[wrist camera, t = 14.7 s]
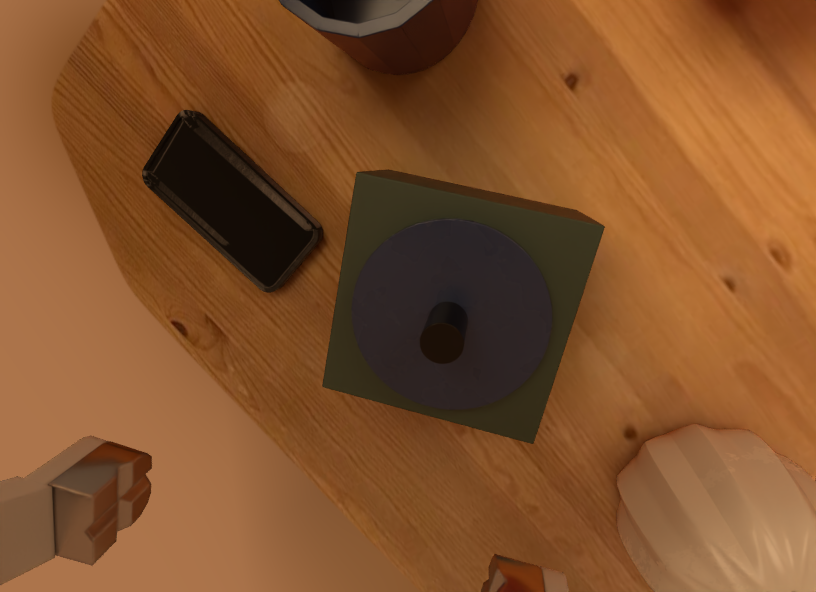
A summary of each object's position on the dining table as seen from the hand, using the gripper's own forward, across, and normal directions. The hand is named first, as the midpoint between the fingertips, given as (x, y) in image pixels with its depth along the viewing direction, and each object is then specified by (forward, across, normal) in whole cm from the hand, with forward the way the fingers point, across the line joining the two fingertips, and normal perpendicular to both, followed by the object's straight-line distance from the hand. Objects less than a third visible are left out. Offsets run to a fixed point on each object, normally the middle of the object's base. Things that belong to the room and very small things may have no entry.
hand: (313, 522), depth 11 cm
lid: (+20, -2, +1) cm, 20 cm away
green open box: (+29, -2, +1) cm, 29 cm away
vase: (+29, -25, +13) cm, 41 cm away
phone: (+30, +18, -1) cm, 35 cm away
